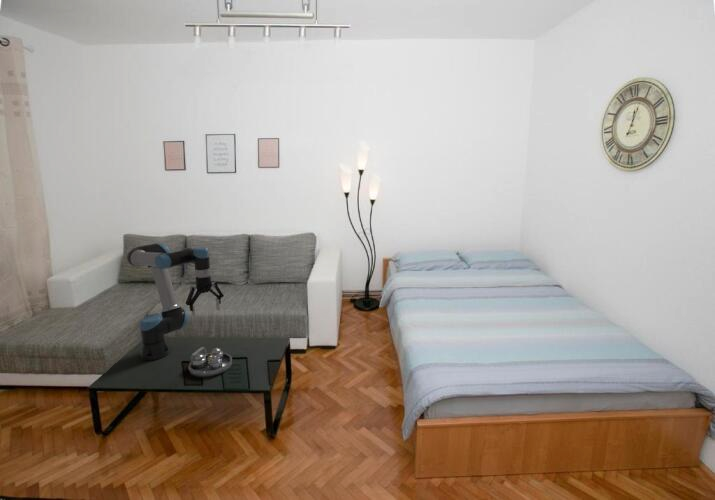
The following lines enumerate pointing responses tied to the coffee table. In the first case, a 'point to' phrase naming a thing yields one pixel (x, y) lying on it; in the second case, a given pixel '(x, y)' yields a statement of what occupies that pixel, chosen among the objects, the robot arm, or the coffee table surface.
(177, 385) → the coffee table surface
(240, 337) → the coffee table surface
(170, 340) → the coffee table surface
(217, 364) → the grey nut
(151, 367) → the coffee table surface
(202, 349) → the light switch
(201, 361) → the carrier
